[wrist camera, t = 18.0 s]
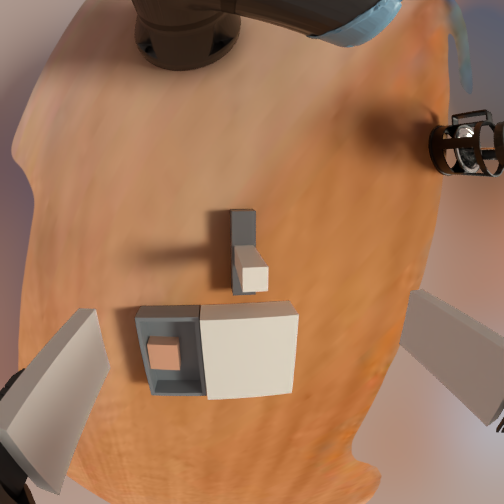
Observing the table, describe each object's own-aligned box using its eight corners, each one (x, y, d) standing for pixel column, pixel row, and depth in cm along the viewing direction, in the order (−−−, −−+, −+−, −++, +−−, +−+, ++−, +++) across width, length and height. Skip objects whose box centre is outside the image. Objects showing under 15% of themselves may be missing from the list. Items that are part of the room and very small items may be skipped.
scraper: (230, 209, 38) (238, 221, 25) (252, 209, 38) (272, 220, 25) (231, 287, 40) (240, 332, 28) (252, 286, 40) (269, 330, 28)
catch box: (141, 305, 39) (134, 317, 35) (199, 304, 40) (198, 317, 36) (155, 380, 42) (151, 395, 38) (206, 380, 43) (206, 395, 39)
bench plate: (200, 304, 40) (199, 320, 35) (289, 300, 42) (298, 314, 37) (207, 380, 43) (208, 399, 38) (284, 374, 45) (291, 392, 40)
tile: (177, 345, 38) (178, 336, 40) (146, 344, 37) (149, 335, 39) (179, 370, 39) (181, 360, 41) (150, 368, 38) (153, 359, 40)
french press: (459, 182, 42) (556, 194, 19) (428, 174, 40) (538, 182, 18) (458, 124, 39) (551, 116, 17) (426, 111, 38) (529, 92, 16)
